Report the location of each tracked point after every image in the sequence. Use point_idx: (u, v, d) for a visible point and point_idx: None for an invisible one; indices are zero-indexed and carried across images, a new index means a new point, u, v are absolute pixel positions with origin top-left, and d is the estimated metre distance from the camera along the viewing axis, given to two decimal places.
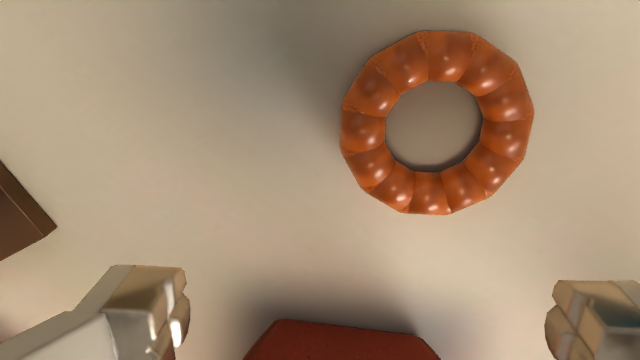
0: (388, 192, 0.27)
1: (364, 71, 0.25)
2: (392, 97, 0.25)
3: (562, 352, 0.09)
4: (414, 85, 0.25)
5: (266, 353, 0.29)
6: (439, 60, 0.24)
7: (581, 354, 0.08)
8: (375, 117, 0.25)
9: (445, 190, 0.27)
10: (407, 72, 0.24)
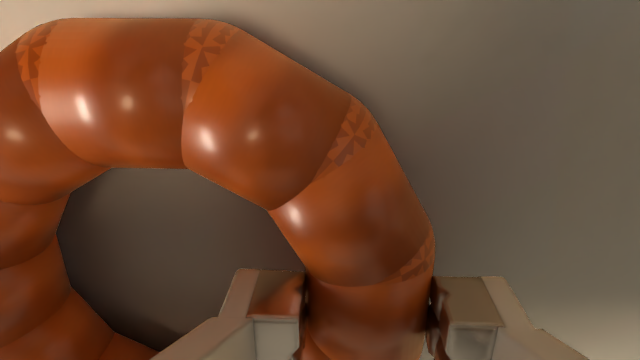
0: None
1: (418, 216, 0.08)
2: (314, 262, 0.08)
3: (436, 347, 0.09)
4: (314, 311, 0.09)
5: None
6: None
7: (442, 349, 0.08)
8: (280, 202, 0.08)
9: None
10: (362, 329, 0.09)
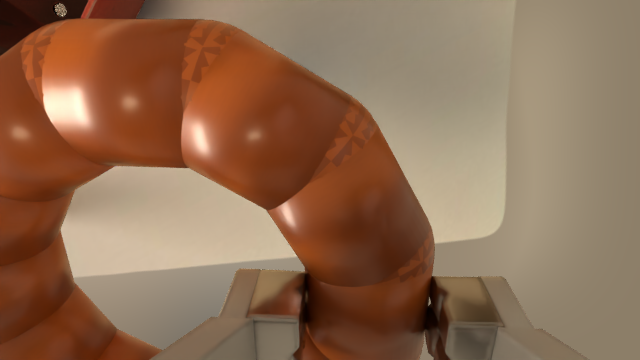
0: (2, 123, 0.07)
1: (417, 217, 0.08)
2: (313, 262, 0.08)
3: None
4: (313, 311, 0.09)
5: None
6: None
7: (442, 349, 0.08)
8: (278, 201, 0.08)
9: None
10: (360, 329, 0.09)
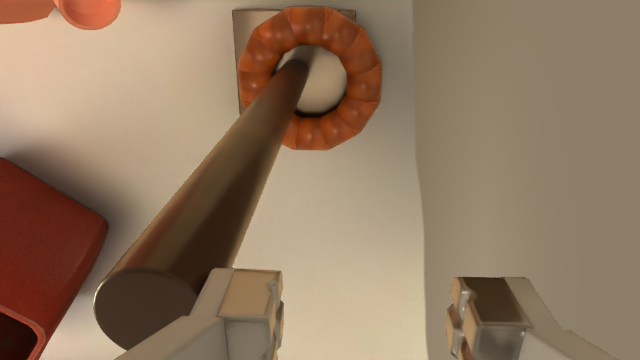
0: (281, 31, 0.32)
1: (377, 57, 0.33)
2: (351, 68, 0.33)
3: (458, 348, 0.09)
4: (350, 85, 0.34)
5: None
6: (359, 109, 0.34)
7: (466, 350, 0.08)
8: (343, 50, 0.33)
9: (262, 74, 0.34)
10: (363, 86, 0.34)
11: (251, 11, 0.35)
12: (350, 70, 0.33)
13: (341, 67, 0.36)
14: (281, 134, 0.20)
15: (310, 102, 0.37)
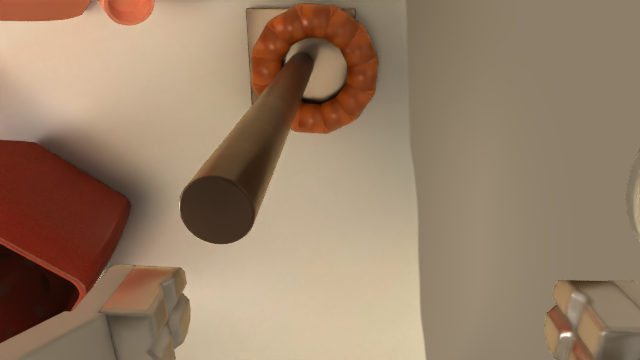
0: (291, 23, 0.37)
1: (374, 51, 0.38)
2: (351, 60, 0.38)
3: (562, 351, 0.09)
4: (349, 75, 0.39)
5: None
6: (356, 96, 0.39)
7: (581, 354, 0.08)
8: (345, 43, 0.37)
9: (273, 61, 0.38)
10: (360, 76, 0.38)
11: (263, 9, 0.39)
12: (350, 61, 0.38)
13: (343, 59, 0.40)
14: (294, 109, 0.24)
15: (315, 91, 0.42)
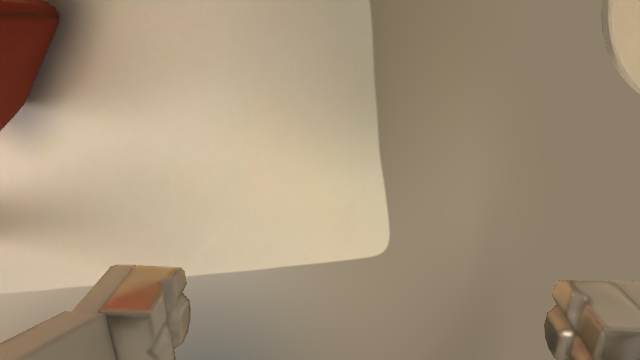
0: None
1: None
2: None
3: (562, 352, 0.09)
4: None
5: (41, 26, 0.40)
6: None
7: (581, 354, 0.08)
8: None
9: None
10: None
11: None
12: None
13: None
14: None
15: None
